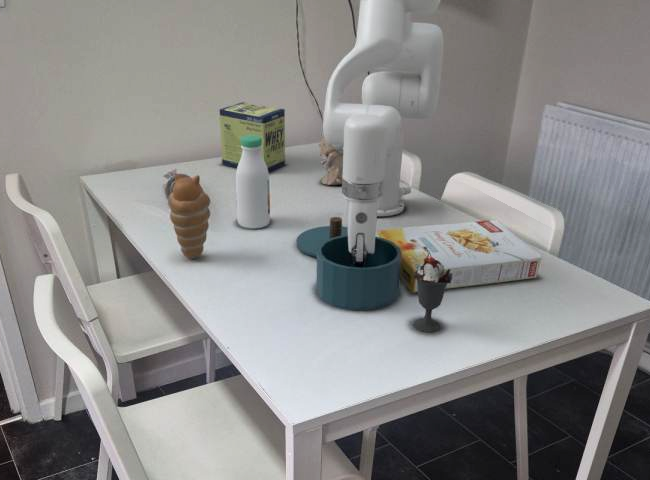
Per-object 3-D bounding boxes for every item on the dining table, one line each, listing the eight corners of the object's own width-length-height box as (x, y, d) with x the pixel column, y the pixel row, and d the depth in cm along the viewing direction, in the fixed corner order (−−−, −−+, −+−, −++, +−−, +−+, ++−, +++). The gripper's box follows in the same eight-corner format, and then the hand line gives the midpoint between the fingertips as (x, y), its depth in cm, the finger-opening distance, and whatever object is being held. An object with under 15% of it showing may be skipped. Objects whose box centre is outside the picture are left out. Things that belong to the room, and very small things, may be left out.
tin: (357, 266, 150) (359, 228, 145) (415, 293, 140) (419, 253, 135) (299, 288, 142) (299, 248, 137) (356, 319, 132) (359, 277, 127)
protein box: (265, 174, 199) (263, 116, 190) (221, 164, 206) (217, 108, 197) (286, 165, 206) (285, 108, 197) (243, 155, 213) (240, 101, 204)
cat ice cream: (218, 252, 156) (212, 170, 145) (206, 267, 149) (199, 182, 139) (179, 248, 157) (172, 166, 147) (166, 263, 151) (157, 178, 141)
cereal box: (377, 228, 152) (495, 215, 159) (375, 252, 155) (491, 239, 162) (415, 270, 136) (544, 254, 143) (412, 296, 140) (539, 279, 146)
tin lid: (336, 224, 169) (337, 199, 166) (389, 247, 158) (392, 220, 155) (280, 243, 160) (280, 217, 156) (333, 269, 149) (334, 241, 146)
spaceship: (170, 200, 159) (201, 183, 160) (149, 169, 189) (176, 155, 189) (186, 230, 164) (217, 214, 164) (164, 195, 193) (190, 181, 193)
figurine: (340, 175, 199) (343, 99, 188) (358, 183, 193) (361, 106, 182) (313, 180, 195) (314, 103, 184) (330, 189, 189) (332, 111, 178)
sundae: (404, 317, 132) (412, 241, 124) (440, 316, 133) (450, 240, 124) (412, 335, 127) (420, 257, 118) (449, 334, 127) (460, 256, 119)
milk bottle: (265, 230, 166) (263, 143, 154) (233, 227, 167) (229, 141, 156) (273, 218, 172) (272, 133, 161) (242, 215, 173) (239, 131, 162)
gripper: (384, 204, 122) (377, 300, 133) (382, 173, 136) (376, 262, 146) (340, 203, 123) (337, 298, 133) (343, 172, 136) (339, 261, 146)
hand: (357, 279), depth 139 cm, fingers open, 3 cm apart
